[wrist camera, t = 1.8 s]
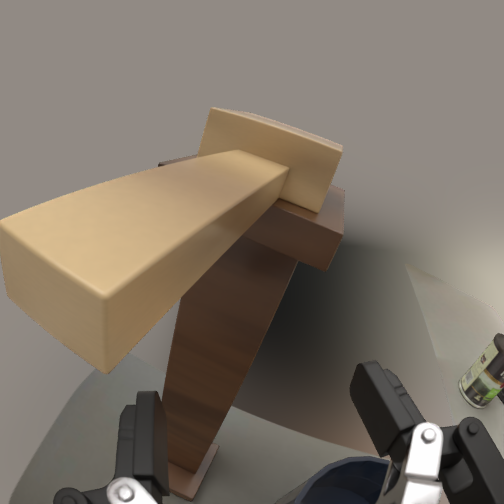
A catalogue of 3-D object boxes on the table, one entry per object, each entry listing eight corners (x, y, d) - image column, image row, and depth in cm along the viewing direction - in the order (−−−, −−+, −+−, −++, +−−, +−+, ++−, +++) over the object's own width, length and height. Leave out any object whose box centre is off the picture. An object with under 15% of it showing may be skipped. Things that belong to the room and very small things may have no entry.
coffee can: (492, 407, 47) (531, 364, 41) (469, 410, 46) (512, 363, 39) (475, 377, 56) (510, 334, 50) (452, 376, 55) (489, 330, 48)
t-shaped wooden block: (236, 155, 16) (250, 112, 15) (326, 189, 15) (343, 146, 14) (-34, 254, 3) (-40, 111, 2) (228, 442, 3) (334, 244, 2)
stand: (191, 501, 24) (343, 234, 10) (133, 472, 25) (158, 162, 11) (217, 450, 31) (344, 190, 17) (164, 424, 32) (232, 147, 18)
